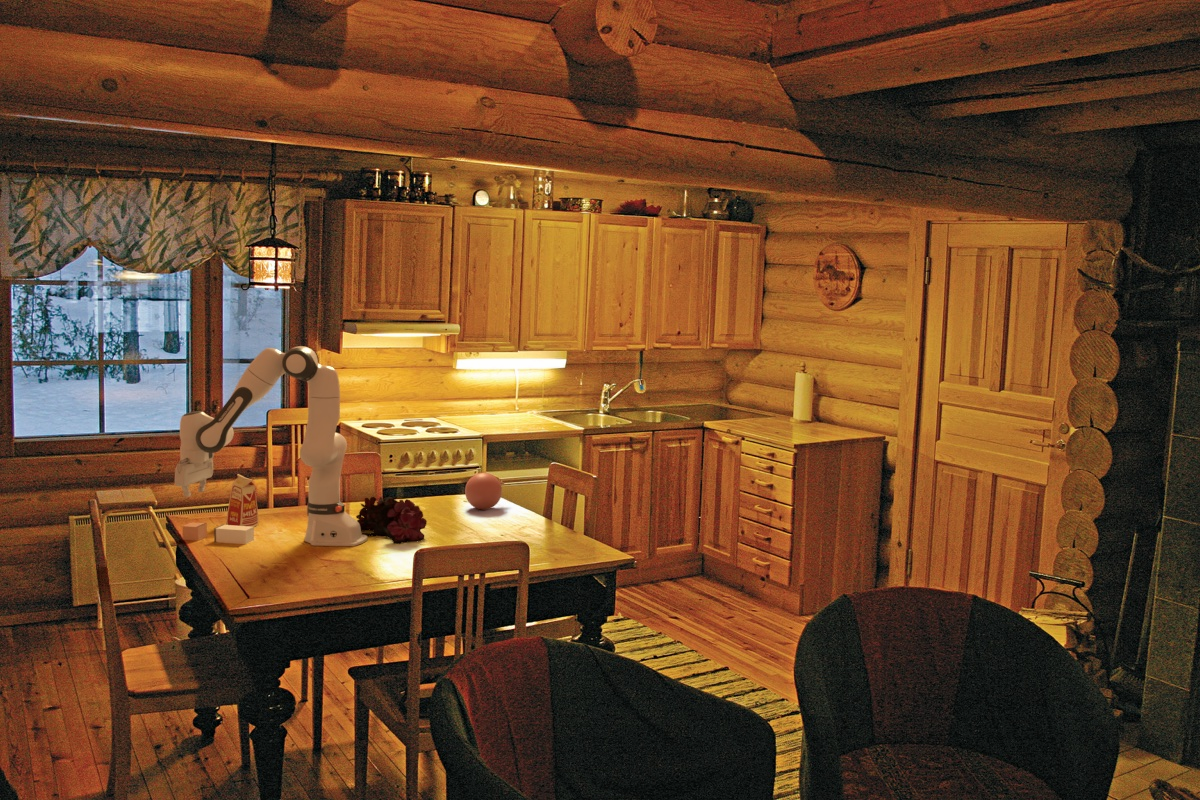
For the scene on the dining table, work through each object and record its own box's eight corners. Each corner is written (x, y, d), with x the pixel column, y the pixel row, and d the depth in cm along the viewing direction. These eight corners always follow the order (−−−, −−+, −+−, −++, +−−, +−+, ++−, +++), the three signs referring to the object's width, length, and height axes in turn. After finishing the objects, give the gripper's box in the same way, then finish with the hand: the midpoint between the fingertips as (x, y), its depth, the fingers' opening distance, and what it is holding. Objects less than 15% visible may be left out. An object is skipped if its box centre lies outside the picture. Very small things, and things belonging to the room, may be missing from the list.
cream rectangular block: (253, 540, 385) (253, 526, 385) (245, 544, 379) (245, 530, 379) (222, 538, 387) (222, 524, 387) (214, 542, 381) (214, 528, 381)
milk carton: (225, 527, 406) (224, 475, 404) (244, 522, 415) (243, 471, 412) (243, 530, 402) (242, 477, 400) (261, 525, 410) (260, 474, 408)
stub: (206, 536, 388) (206, 523, 388) (198, 540, 382) (197, 526, 382) (191, 535, 389) (191, 522, 389) (182, 539, 383) (182, 525, 383)
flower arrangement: (345, 533, 402) (345, 494, 400) (384, 524, 418) (384, 486, 416) (403, 547, 384) (403, 506, 382) (442, 537, 400) (442, 497, 398)
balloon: (517, 507, 453) (517, 472, 451) (482, 514, 438) (482, 477, 436) (492, 502, 463) (492, 467, 461) (457, 508, 448) (457, 472, 446)
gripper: (186, 461, 372) (187, 500, 373) (216, 452, 392) (216, 489, 393) (169, 460, 373) (170, 499, 374) (200, 451, 393) (201, 488, 394)
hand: (194, 494), depth 384 cm, fingers open, 8 cm apart
